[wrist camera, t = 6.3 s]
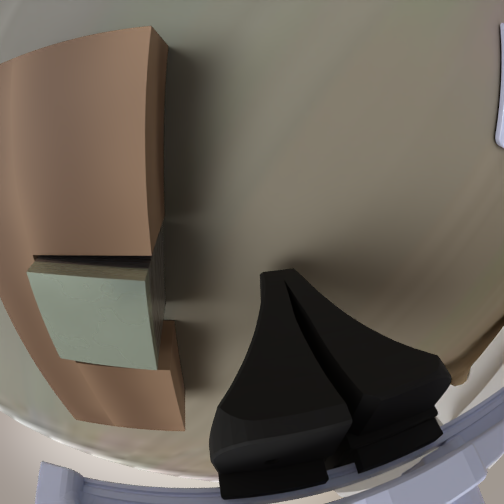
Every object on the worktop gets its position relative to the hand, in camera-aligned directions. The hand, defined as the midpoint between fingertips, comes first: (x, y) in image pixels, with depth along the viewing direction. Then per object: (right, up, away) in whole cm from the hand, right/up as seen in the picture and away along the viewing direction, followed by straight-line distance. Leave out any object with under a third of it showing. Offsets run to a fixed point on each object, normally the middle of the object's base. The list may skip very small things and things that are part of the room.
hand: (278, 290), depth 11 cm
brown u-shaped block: (-8, +1, 0) cm, 8 cm away
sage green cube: (-7, +1, 0) cm, 7 cm away
